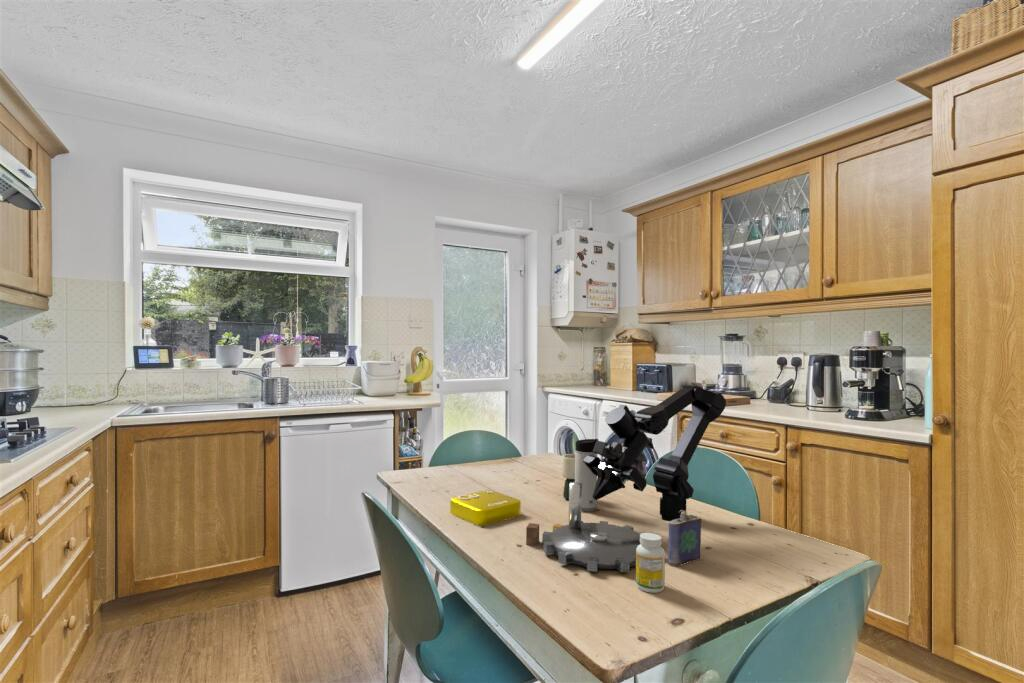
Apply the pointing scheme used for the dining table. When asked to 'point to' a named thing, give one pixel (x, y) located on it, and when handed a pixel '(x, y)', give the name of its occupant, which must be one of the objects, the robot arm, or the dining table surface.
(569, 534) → the sprocket
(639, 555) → the supplement bottle
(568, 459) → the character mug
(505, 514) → the element tile
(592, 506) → the travel mug
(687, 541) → the flask
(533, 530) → the brown rectangular block
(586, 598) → the dining table surface
